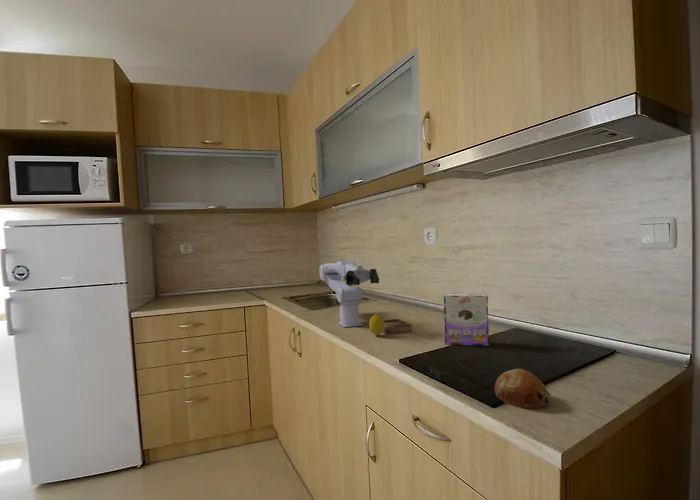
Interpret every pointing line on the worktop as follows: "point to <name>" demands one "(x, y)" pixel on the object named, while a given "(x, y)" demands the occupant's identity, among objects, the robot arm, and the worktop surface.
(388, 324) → the base
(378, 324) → the lemon
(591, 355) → the worktop surface
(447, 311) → the candy box
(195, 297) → the worktop surface
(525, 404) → the reddish brown rounded lump
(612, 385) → the worktop surface
